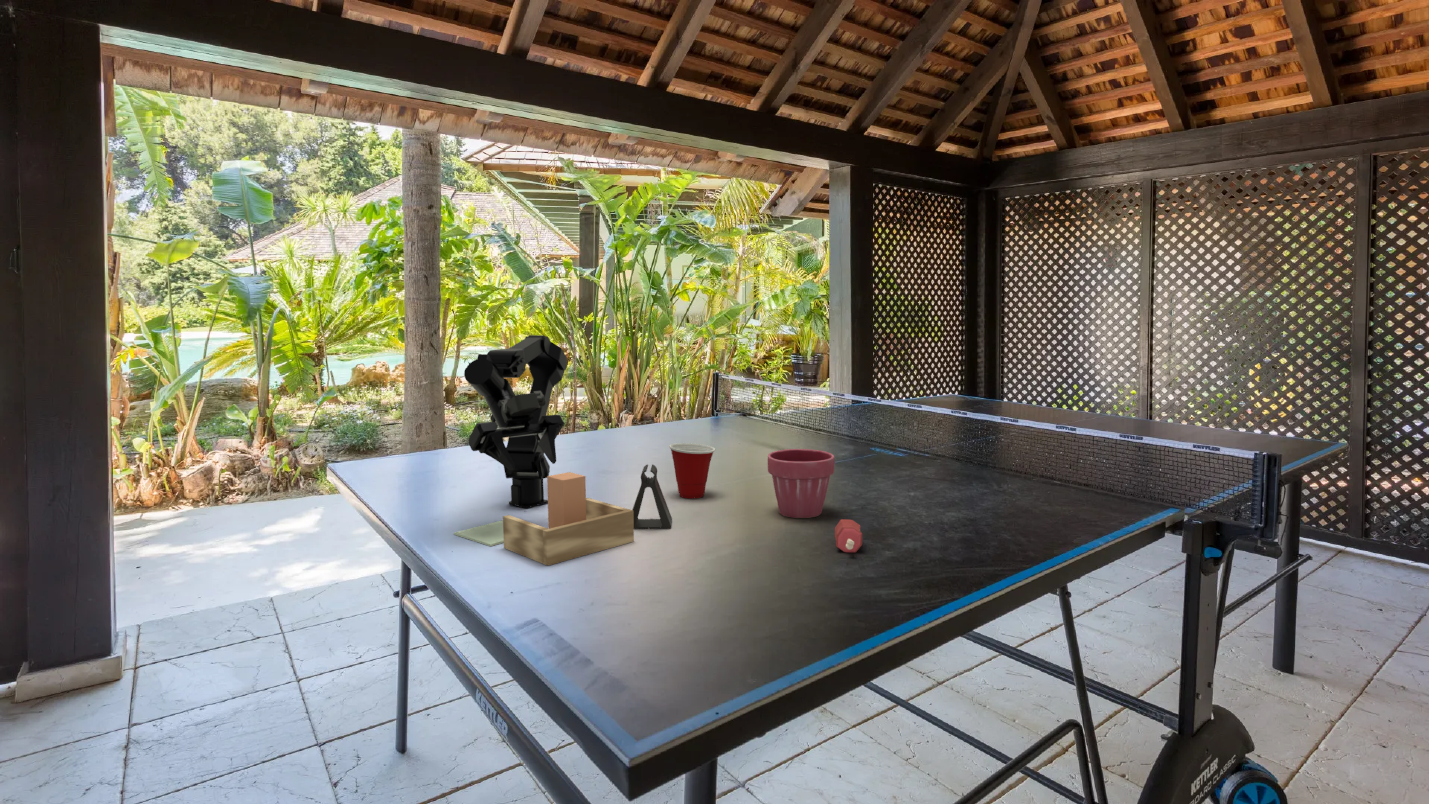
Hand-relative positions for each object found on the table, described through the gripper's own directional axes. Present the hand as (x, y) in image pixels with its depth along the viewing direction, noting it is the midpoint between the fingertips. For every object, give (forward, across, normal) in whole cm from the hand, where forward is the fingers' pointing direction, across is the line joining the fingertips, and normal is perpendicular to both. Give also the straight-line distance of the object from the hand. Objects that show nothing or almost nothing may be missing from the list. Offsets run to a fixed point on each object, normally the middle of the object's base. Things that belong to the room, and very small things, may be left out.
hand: (534, 465), depth 149 cm
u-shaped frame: (+17, +1, +3) cm, 17 cm away
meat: (+44, +36, -24) cm, 62 cm away
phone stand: (+17, +20, +2) cm, 27 cm away
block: (+17, +1, +3) cm, 17 cm away
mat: (+6, -5, +14) cm, 16 cm away
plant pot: (+28, +49, -9) cm, 57 cm away
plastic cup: (+9, +43, +10) cm, 45 cm away
